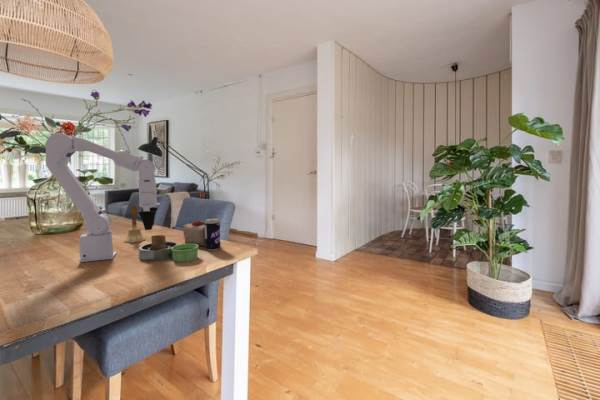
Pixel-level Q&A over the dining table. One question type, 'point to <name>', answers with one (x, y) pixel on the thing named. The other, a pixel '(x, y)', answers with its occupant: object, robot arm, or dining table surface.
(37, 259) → the dining table surface
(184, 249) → the ramekin
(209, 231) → the beverage can
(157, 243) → the tan wooden block
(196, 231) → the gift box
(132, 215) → the hand bell
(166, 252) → the grey metal bowl
